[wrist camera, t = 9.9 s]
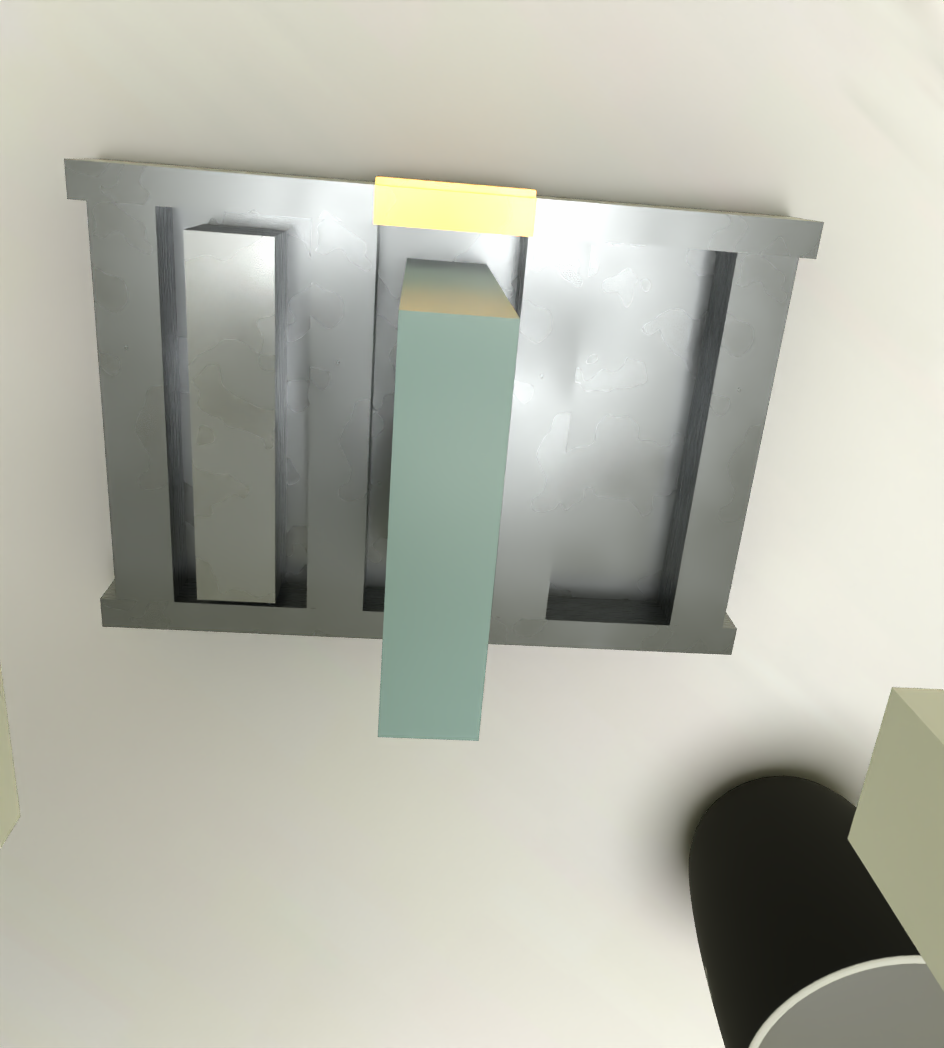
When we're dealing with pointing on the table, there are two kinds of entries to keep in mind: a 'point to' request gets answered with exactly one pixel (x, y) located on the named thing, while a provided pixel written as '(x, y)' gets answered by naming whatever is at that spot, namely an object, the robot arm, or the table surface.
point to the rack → (369, 388)
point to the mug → (802, 928)
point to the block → (445, 496)
